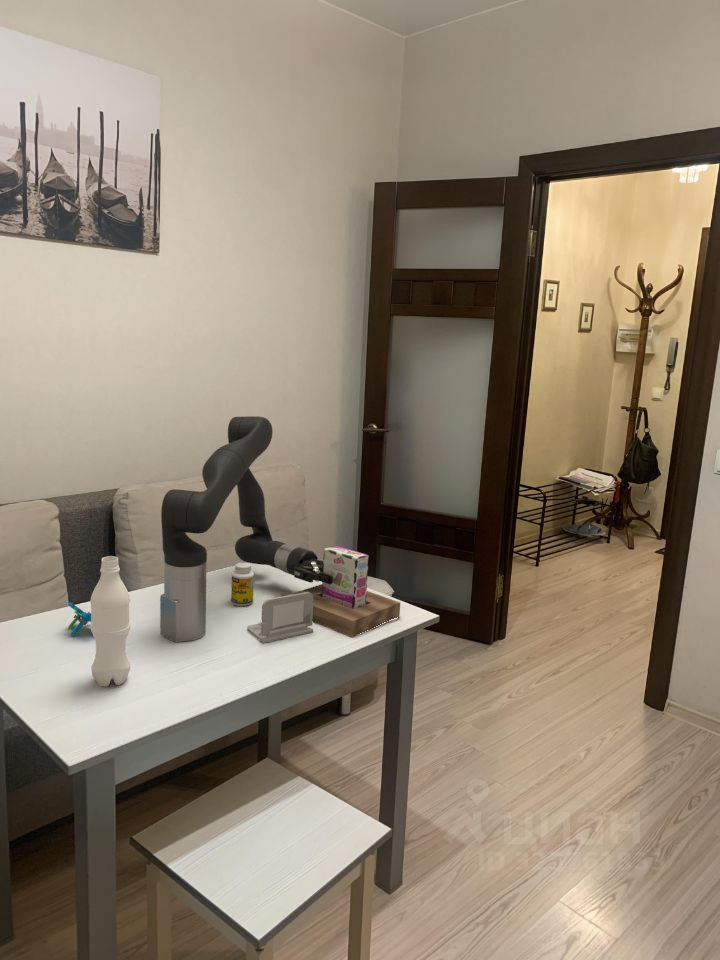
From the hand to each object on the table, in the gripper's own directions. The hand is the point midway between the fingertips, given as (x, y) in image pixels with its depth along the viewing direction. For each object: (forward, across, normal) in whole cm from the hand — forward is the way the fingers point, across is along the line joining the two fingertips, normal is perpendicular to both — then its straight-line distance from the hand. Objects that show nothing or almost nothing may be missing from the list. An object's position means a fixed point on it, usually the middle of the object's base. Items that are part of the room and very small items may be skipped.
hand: (342, 577), depth 183 cm
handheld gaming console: (-2, -19, +10) cm, 22 cm away
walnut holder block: (+1, 0, +10) cm, 10 cm away
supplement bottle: (-21, -14, +10) cm, 27 cm away
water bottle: (-6, -60, +10) cm, 61 cm away
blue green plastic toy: (-30, -52, +10) cm, 61 cm away
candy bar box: (+1, 0, +10) cm, 10 cm away
